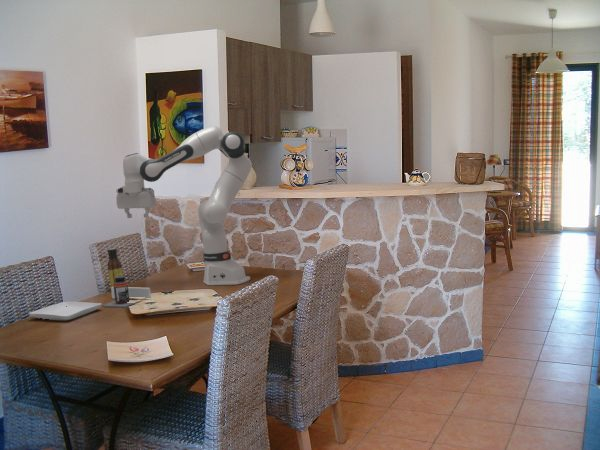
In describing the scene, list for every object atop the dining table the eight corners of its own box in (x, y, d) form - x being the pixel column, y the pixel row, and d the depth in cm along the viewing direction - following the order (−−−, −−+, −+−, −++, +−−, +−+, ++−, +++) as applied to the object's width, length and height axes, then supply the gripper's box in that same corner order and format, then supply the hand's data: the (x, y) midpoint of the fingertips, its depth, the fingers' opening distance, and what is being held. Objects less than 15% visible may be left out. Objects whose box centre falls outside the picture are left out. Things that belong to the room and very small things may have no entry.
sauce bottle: (126, 288, 345) (122, 247, 342) (122, 291, 339) (117, 249, 336) (113, 289, 346) (108, 247, 343) (108, 291, 340) (103, 250, 337)
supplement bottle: (116, 301, 315) (113, 275, 313) (130, 300, 315) (127, 274, 314) (114, 304, 309) (111, 278, 307) (128, 303, 309) (125, 277, 308)
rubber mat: (142, 300, 315) (142, 299, 315) (125, 307, 304) (125, 306, 304) (119, 300, 320) (119, 298, 320) (102, 306, 309) (102, 305, 309)
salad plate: (104, 310, 304) (103, 302, 304) (68, 323, 285) (67, 315, 285) (65, 308, 313) (64, 300, 313) (28, 321, 294) (27, 313, 294)
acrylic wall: (151, 298, 318) (149, 287, 317) (149, 299, 316) (148, 288, 316) (113, 297, 326) (112, 286, 325) (112, 298, 325) (110, 287, 324)
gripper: (157, 186, 338) (160, 216, 340) (121, 188, 346) (124, 217, 348) (149, 188, 332) (152, 218, 334) (113, 189, 341) (116, 219, 342)
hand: (137, 217), depth 341 cm, fingers open, 8 cm apart
